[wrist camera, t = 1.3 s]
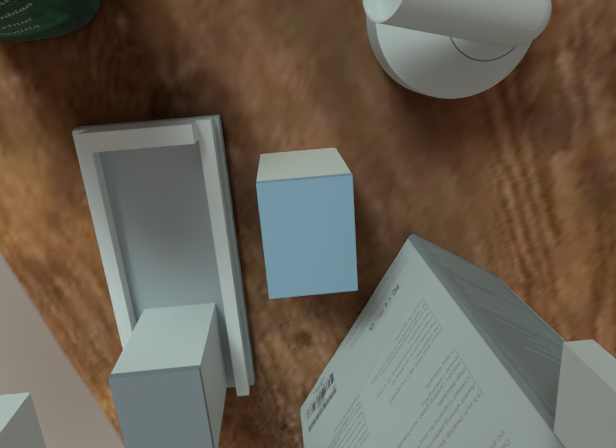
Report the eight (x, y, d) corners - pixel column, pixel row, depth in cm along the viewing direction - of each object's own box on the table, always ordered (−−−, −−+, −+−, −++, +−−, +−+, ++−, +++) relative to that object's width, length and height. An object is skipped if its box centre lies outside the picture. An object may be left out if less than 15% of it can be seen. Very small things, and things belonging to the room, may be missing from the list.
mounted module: (144, 309, 31) (108, 378, 24) (215, 302, 31) (198, 369, 25) (160, 388, 33) (131, 472, 26) (227, 381, 33) (215, 463, 27)
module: (260, 154, 29) (255, 183, 23) (335, 147, 29) (352, 175, 23) (270, 247, 31) (269, 299, 25) (340, 240, 31) (357, 290, 25)
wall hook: (398, -168, 16) (672, -117, 17) (355, -90, 25) (537, -59, 26) (357, 95, 19) (595, 126, 20) (331, 81, 28) (496, 103, 29)
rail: (80, 126, 28) (54, 135, 25) (220, 114, 28) (213, 122, 25) (139, 387, 34) (125, 422, 31) (254, 375, 34) (252, 409, 31)
